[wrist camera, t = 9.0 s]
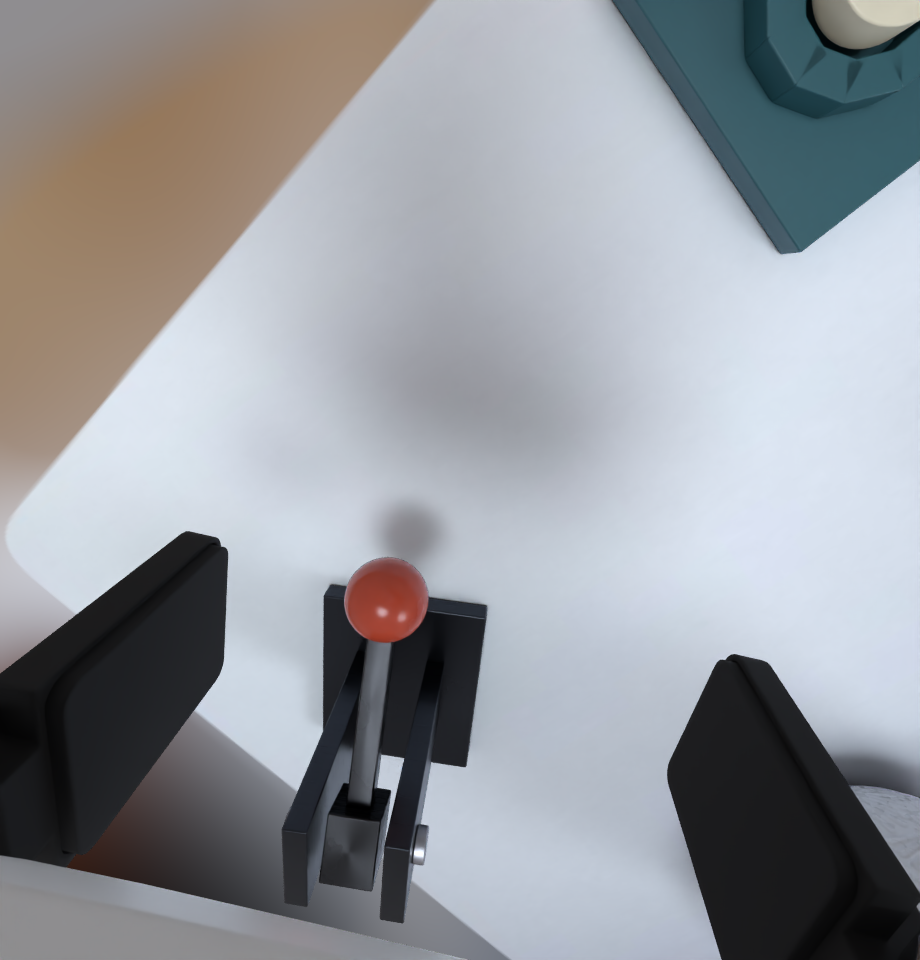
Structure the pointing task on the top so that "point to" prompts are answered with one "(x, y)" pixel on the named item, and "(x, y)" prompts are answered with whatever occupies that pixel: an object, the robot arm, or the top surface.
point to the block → (788, 105)
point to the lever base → (387, 737)
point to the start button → (864, 20)
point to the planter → (896, 824)
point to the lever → (370, 718)
